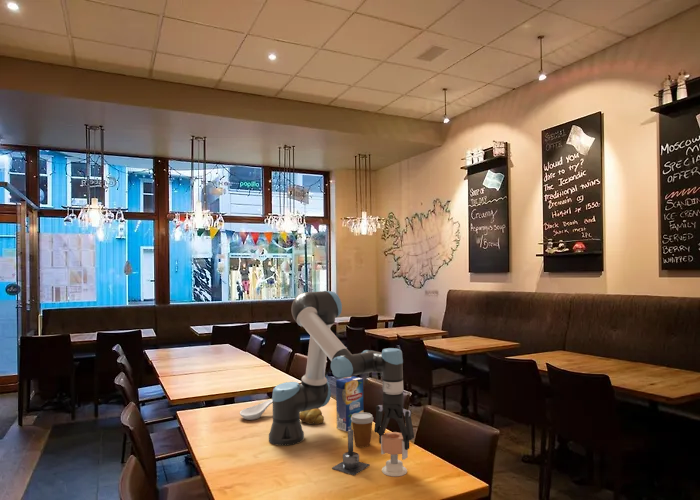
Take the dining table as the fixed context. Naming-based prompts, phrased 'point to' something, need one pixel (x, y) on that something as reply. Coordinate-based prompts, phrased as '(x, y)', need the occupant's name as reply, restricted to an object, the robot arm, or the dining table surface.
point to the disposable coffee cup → (362, 428)
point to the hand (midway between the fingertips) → (394, 455)
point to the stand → (350, 459)
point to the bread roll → (312, 416)
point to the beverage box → (348, 400)
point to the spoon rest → (255, 410)
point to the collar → (392, 443)
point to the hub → (394, 467)
